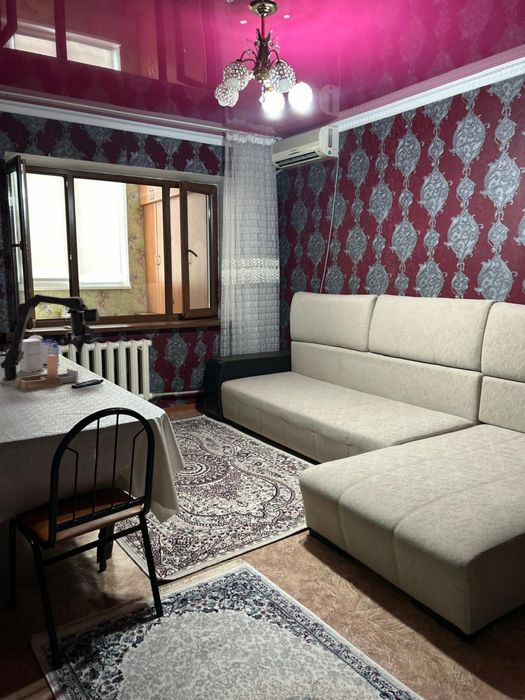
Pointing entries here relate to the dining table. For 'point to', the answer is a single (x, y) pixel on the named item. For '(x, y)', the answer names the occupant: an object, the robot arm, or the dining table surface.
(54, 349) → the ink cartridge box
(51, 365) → the canister
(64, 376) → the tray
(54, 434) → the dining table surface
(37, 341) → the supplement box
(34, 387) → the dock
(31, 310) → the robot arm
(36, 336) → the french press
